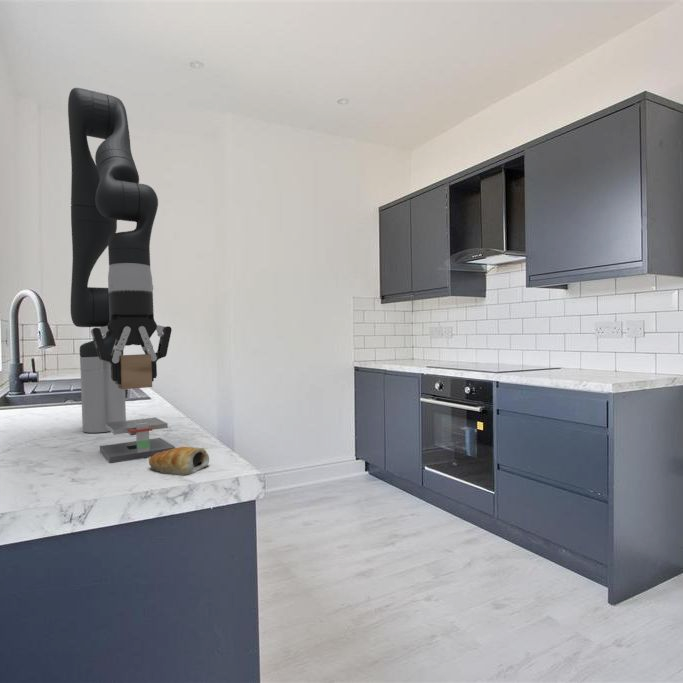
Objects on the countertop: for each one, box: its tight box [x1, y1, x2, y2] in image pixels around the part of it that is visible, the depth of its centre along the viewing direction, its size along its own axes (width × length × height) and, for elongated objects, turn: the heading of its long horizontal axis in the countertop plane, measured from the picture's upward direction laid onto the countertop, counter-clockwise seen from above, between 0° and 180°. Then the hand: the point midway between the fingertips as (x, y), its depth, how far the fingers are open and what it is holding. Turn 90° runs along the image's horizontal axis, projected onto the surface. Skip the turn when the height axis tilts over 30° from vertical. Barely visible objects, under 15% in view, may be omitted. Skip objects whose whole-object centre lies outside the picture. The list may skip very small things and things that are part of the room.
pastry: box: [148, 446, 210, 476], centre depth 79 cm, size 9×7×4 cm
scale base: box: [99, 423, 176, 464], centre depth 91 cm, size 11×11×6 cm
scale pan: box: [105, 417, 169, 436], centre depth 90 cm, size 11×9×2 cm
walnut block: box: [118, 353, 153, 390], centre depth 90 cm, size 5×5×6 cm
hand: (134, 382), depth 90 cm, fingers closed on walnut block, 5 cm apart
